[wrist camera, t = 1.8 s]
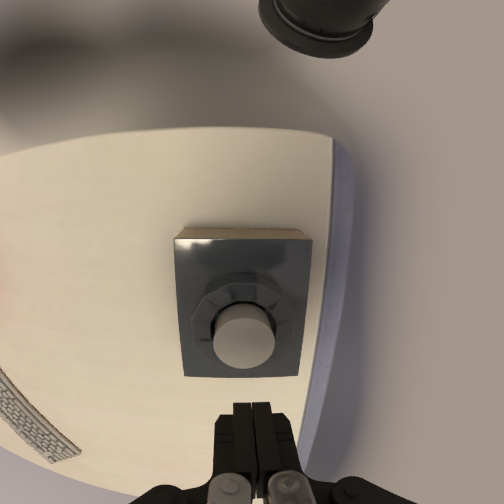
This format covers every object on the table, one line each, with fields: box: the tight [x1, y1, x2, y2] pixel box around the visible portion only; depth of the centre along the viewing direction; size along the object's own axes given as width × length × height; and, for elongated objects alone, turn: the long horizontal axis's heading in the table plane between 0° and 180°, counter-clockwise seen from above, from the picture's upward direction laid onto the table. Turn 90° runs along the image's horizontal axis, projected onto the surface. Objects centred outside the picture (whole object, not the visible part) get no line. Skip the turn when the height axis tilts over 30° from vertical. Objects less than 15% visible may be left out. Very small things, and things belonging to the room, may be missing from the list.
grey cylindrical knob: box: [213, 303, 275, 369], centre depth 17 cm, size 4×4×2 cm
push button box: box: [174, 228, 312, 378], centre depth 21 cm, size 11×9×6 cm
